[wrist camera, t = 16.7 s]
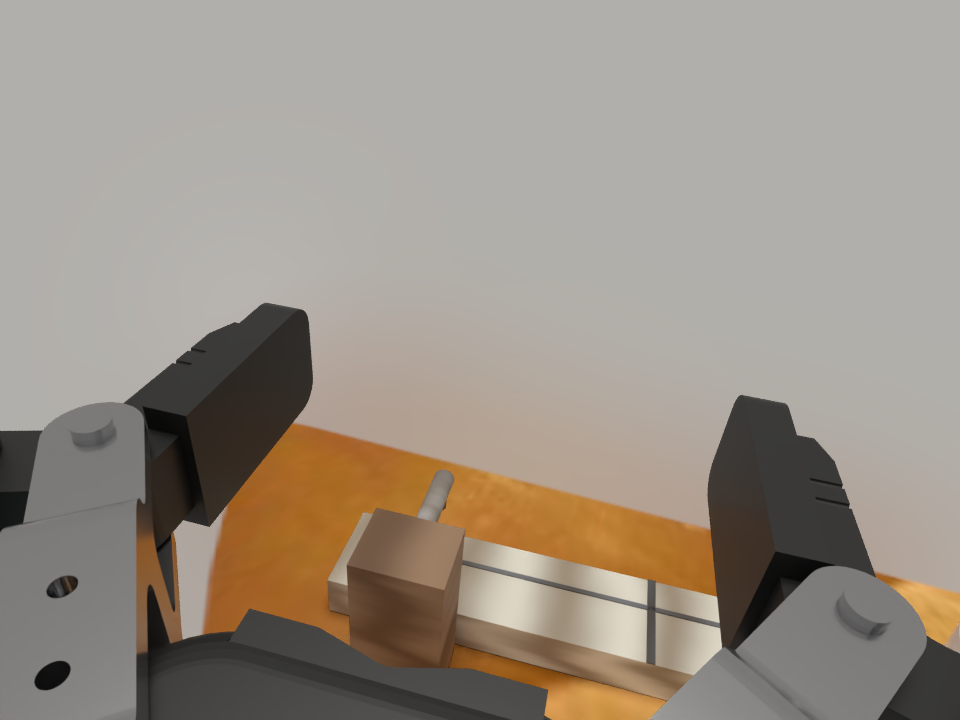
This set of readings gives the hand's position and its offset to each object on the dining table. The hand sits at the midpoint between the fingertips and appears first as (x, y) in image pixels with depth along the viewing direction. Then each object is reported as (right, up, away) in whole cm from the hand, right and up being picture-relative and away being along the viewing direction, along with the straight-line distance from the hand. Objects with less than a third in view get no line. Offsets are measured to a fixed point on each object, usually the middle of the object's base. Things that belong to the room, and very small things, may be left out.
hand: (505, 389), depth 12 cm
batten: (+5, -17, +30) cm, 35 cm away
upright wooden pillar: (-4, -17, +29) cm, 34 cm away
